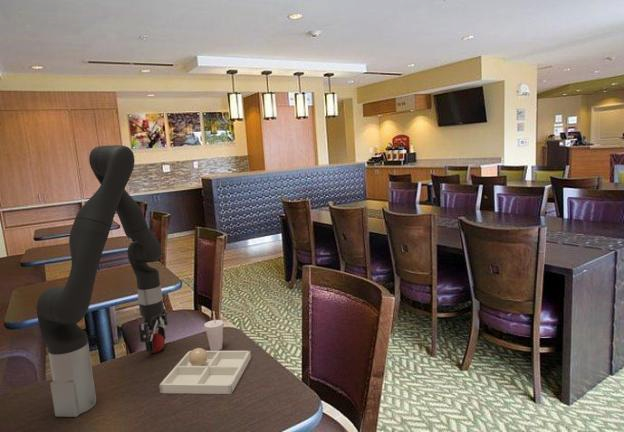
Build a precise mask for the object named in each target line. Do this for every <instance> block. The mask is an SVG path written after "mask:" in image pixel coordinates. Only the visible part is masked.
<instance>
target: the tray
mask: <svg viewBox="0 0 624 432" xmlns="http://www.w3.org/2000/svg"><path fill="white" fill-rule="evenodd" d="M192 351H193V350H188V352H186V353H185V355H184V356H183V357H182V358H181V359H180V360H179V362H177V363H176V365H175V366H174V367H173V369H172V370H171V371H170V372H169V373H168V375H166V377H164V379H163V380H162V381H161V382H160V383H159V385H158V386H159V393H160V394H193V395H194V394H199V395H201V394H202V395H232V394H233V392H234V391H235V388H236V387H237V385H238V383H239V381H240V379H241V378H242V375H243V373H244V371H246V368H247V367H248V365H249V362H250V361H251V359H252V354H251V350H219V351H211V350H205V351H206V352H207V355H208V358H207V361H206V363H205V364H204V365H203V366H193V365H191V363H190V362H189V355H190V353H191V352H192Z"/></svg>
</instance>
